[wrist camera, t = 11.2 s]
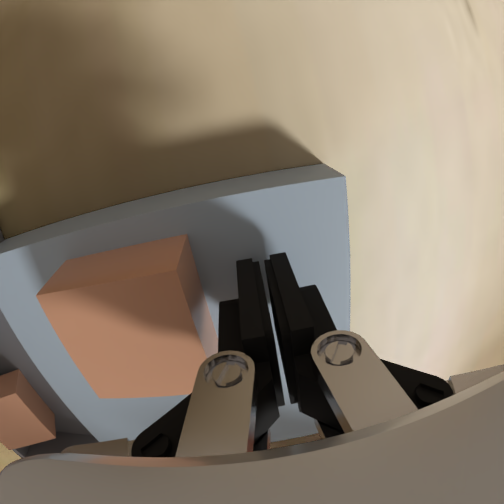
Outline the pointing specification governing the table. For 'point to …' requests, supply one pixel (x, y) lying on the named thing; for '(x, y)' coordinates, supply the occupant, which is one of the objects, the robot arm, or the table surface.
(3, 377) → the tile rear
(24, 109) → the table surface
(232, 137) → the table surface
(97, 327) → the tile front
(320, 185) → the board
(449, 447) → the robot arm
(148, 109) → the table surface
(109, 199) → the table surface
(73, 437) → the tray
